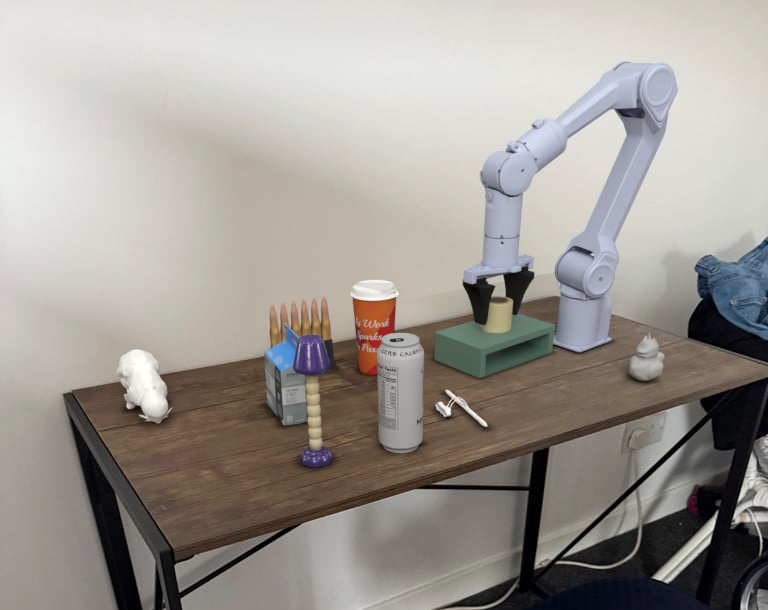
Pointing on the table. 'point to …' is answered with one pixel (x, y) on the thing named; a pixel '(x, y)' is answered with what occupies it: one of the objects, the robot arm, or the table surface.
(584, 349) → the robot arm
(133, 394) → the white animal figurine
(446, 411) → the picture light
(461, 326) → the desk shelf
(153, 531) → the table surface
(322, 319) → the ammunition clip
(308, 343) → the toy lamp
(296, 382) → the label tape box
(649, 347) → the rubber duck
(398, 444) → the energy drink can
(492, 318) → the tape roll
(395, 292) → the paper cup
